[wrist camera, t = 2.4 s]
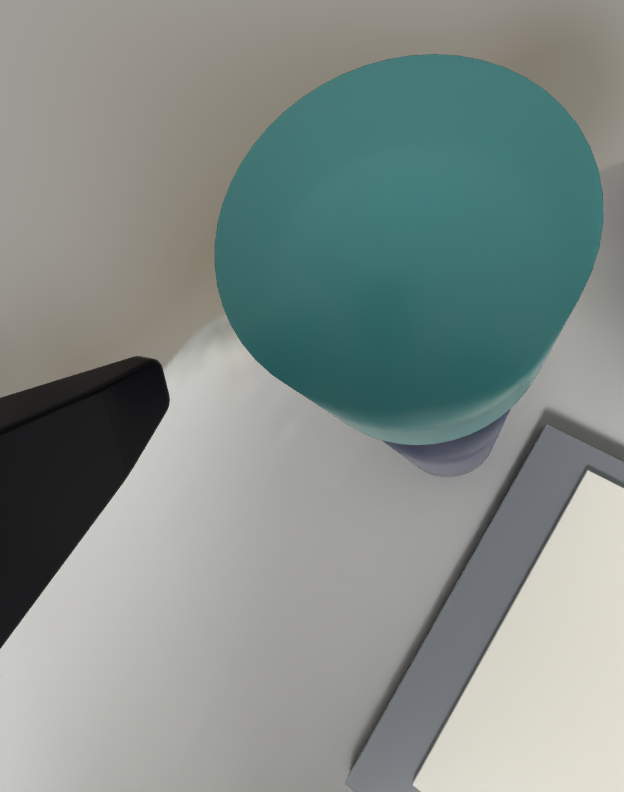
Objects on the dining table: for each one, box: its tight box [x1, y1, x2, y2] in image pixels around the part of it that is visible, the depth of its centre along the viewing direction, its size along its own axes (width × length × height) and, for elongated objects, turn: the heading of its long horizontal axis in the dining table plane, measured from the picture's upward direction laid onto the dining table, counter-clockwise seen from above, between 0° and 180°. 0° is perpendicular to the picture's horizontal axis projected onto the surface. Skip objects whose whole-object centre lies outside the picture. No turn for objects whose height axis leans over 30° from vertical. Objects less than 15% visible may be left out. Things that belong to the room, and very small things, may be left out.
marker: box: [215, 54, 603, 477], centre depth 10 cm, size 3×3×13 cm
